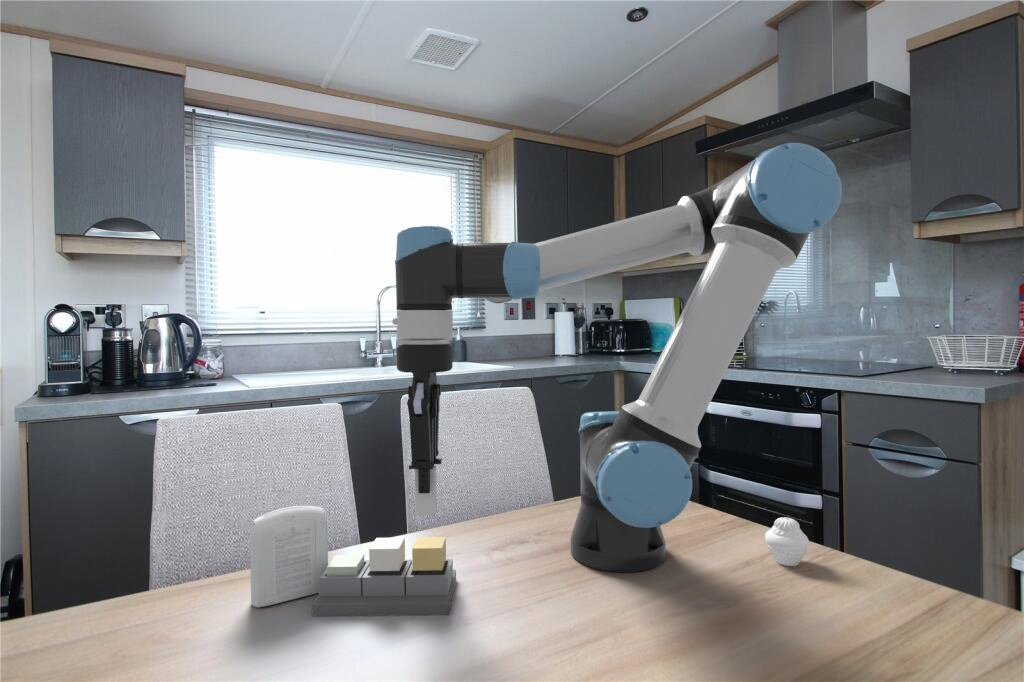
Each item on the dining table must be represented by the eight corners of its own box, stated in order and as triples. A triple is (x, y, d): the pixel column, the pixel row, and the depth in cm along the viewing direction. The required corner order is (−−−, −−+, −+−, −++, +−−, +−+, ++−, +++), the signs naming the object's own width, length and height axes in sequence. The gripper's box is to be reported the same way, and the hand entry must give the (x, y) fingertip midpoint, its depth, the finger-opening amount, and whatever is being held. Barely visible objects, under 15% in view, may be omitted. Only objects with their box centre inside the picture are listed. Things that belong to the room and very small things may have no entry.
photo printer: (324, 580, 85) (322, 497, 84) (332, 591, 81) (330, 504, 81) (248, 599, 79) (245, 511, 79) (254, 612, 75) (251, 519, 75)
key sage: (364, 575, 81) (364, 554, 81) (356, 588, 77) (356, 566, 77) (336, 575, 81) (335, 554, 81) (327, 588, 77) (326, 566, 77)
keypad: (456, 579, 84) (455, 552, 84) (447, 614, 74) (447, 584, 74) (336, 581, 84) (335, 554, 84) (312, 616, 74) (311, 585, 74)
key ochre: (446, 557, 81) (445, 536, 81) (442, 570, 77) (442, 548, 77) (417, 558, 81) (417, 537, 81) (412, 570, 77) (412, 548, 77)
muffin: (795, 553, 91) (795, 510, 91) (817, 570, 85) (817, 523, 85) (757, 554, 91) (757, 511, 91) (776, 571, 85) (776, 524, 85)
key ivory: (405, 558, 81) (404, 537, 81) (399, 570, 77) (398, 548, 77) (376, 558, 81) (376, 537, 81) (369, 571, 77) (369, 549, 77)
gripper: (406, 340, 84) (407, 499, 85) (386, 344, 71) (388, 531, 72) (457, 340, 84) (458, 499, 85) (446, 344, 71) (447, 531, 72)
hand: (426, 513), depth 79 cm, fingers closed
